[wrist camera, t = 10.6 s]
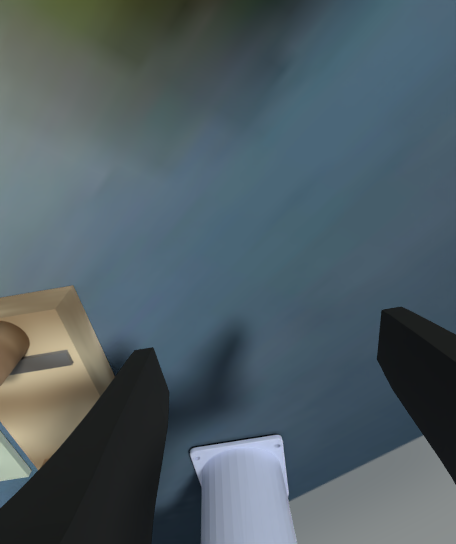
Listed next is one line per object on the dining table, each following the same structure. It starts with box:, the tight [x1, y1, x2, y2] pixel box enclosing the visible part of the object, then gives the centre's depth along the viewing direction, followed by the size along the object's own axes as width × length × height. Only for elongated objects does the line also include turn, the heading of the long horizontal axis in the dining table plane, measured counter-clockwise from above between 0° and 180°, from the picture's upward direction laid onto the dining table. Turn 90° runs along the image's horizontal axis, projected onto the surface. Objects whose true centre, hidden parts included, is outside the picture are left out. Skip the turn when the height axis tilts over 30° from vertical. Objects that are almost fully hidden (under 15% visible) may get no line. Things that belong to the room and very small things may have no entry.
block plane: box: [0, 286, 115, 470], centre depth 20 cm, size 14×7×5 cm, turn 9°
